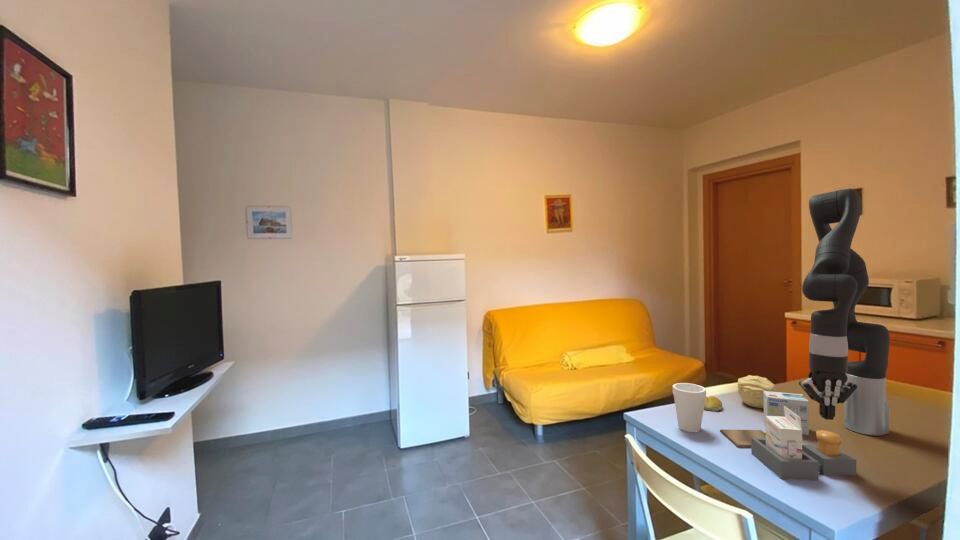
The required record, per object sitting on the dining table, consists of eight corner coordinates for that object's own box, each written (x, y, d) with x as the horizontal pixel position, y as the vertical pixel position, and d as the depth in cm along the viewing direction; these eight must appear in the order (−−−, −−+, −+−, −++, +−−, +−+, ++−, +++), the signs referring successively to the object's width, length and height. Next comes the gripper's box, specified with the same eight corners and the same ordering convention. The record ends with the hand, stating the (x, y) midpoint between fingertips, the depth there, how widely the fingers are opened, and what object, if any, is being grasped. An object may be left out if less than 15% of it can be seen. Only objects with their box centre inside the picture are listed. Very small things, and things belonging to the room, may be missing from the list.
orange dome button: (830, 451, 106) (831, 430, 106) (845, 460, 102) (845, 438, 101) (811, 450, 107) (811, 430, 107) (825, 460, 102) (825, 438, 102)
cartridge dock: (825, 455, 110) (825, 438, 110) (864, 480, 98) (865, 462, 97) (751, 453, 112) (751, 437, 112) (781, 479, 99) (781, 461, 99)
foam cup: (667, 422, 134) (667, 383, 133) (694, 420, 134) (693, 382, 134) (683, 435, 124) (683, 393, 124) (712, 433, 125) (712, 391, 124)
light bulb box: (803, 427, 128) (803, 393, 127) (809, 436, 121) (810, 400, 121) (762, 422, 132) (762, 389, 132) (767, 430, 126) (767, 396, 126)
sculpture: (734, 405, 147) (734, 376, 146) (744, 397, 155) (744, 369, 154) (772, 414, 138) (772, 383, 138) (780, 404, 146) (780, 375, 146)
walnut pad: (760, 432, 125) (760, 429, 125) (782, 448, 115) (782, 445, 115) (720, 432, 126) (720, 429, 126) (737, 447, 116) (737, 444, 116)
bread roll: (694, 401, 152) (694, 391, 152) (722, 406, 147) (722, 395, 147) (692, 408, 145) (692, 397, 145) (721, 413, 140) (721, 402, 140)
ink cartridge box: (764, 457, 110) (764, 404, 109) (784, 458, 109) (784, 405, 108) (780, 474, 102) (780, 416, 101) (803, 475, 101) (803, 417, 100)
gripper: (844, 348, 106) (843, 413, 107) (790, 348, 108) (789, 412, 108) (868, 355, 99) (867, 425, 100) (811, 355, 100) (810, 423, 101)
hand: (826, 418), depth 104 cm, fingers closed
